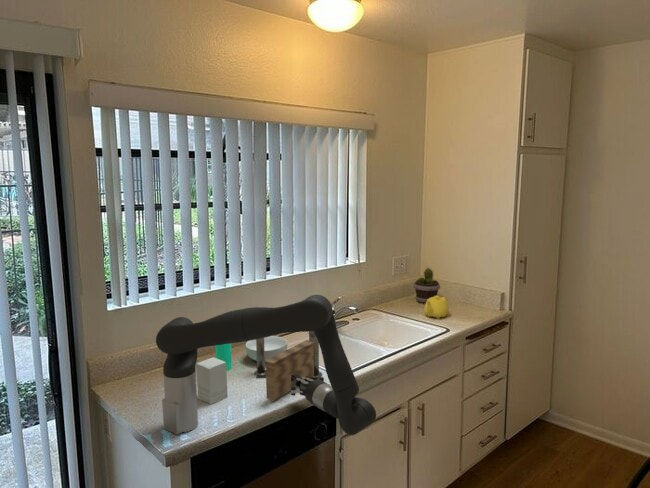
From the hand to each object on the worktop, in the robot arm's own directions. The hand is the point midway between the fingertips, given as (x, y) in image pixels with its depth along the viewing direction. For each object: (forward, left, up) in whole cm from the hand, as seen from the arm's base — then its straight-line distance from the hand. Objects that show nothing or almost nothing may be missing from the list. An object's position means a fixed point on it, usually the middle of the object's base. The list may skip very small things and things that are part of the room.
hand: (293, 377), depth 168 cm
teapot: (+113, -4, -9) cm, 114 cm away
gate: (+7, +6, -8) cm, 12 cm away
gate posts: (+15, +15, -8) cm, 23 cm away
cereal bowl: (+22, +31, -9) cm, 39 cm away
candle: (+6, +39, -9) cm, 41 cm away
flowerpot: (+136, +11, -9) cm, 137 cm away
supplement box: (-14, +24, -9) cm, 29 cm away
